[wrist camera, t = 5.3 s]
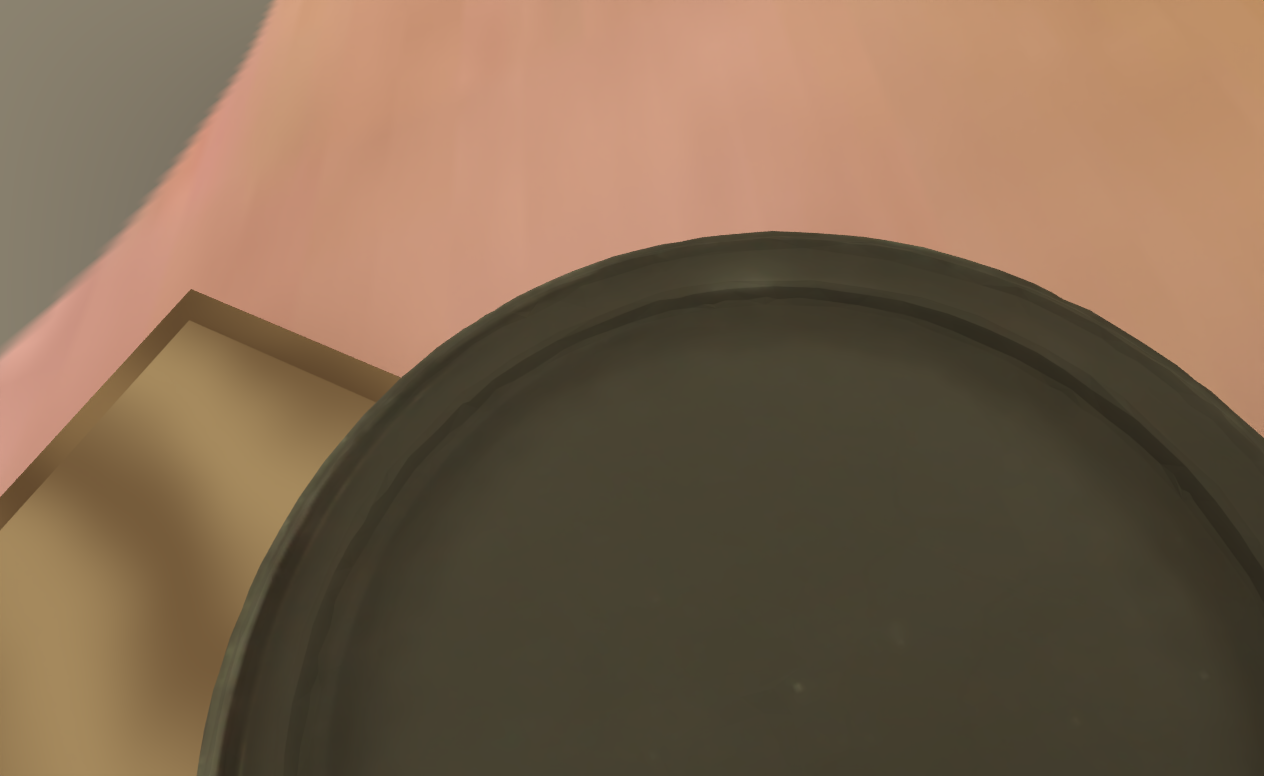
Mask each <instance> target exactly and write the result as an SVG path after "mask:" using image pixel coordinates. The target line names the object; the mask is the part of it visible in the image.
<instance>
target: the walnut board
mask: <svg viewBox="0 0 1264 776" xmlns="http://www.w3.org/2000/svg"><path fill="white" fill-rule="evenodd" d="M399 379H400V377H398V376H396V375H393V374H391V373H389V372H386V371H384V370H382V369H379V368H377V367H374V366H372V365H370V364H367V363H365V362H363V361H360V360H358V359H355V358H353V357H351V356H348V355H346V354H344V353H341V352H339V351H336V350H334V349H332V348H329V347H327V346H325V345H322V344H320V343H318V342H315V341H313V340H310V339H308V338H306V337H303V336H301V335H299V334H296V333H294V332H291V331H289V330H287V329H284V328H282V327H280V326H277V325H275V324H272V323H270V322H268V321H265V320H263V319H261V318H258V317H256V316H254V315H251V314H249V313H246V312H244V311H242V310H239V309H237V308H235V307H232V306H230V305H227V304H225V303H223V302H220V301H218V300H216V299H213V298H211V297H209V296H206V295H204V294H201V293H199V292H197V291H194V290H192V289H191V290H190V291H189V292H188V293H187V294H186V295H185V296H184V297H183V298H182V300H181V301H180V302H179V303H178V304H177V305H176V306H175V307H174V308H173V309H172V310H171V312H170V313H169V314H168V315H167V316H166V317H165V318H164V319H163V320H162V321H161V322H160V324H159V325H158V326H157V327H156V328H155V329H154V330H153V331H152V332H151V333H150V334H149V336H148V337H147V338H146V339H145V340H144V341H143V342H142V343H141V344H140V345H139V346H138V348H137V349H136V350H135V351H134V352H133V353H132V354H131V355H130V356H129V357H128V358H127V360H126V361H125V362H124V363H123V364H122V365H121V366H120V367H119V368H118V369H117V370H116V372H115V373H114V374H113V375H112V376H111V377H110V378H109V379H108V380H107V381H106V382H105V384H104V385H103V386H102V387H101V388H100V389H99V390H98V391H97V392H96V393H95V394H94V396H93V397H92V398H91V399H90V400H89V401H88V402H87V403H86V404H85V405H84V407H83V408H82V409H81V410H80V411H79V412H78V413H77V414H76V415H75V416H74V417H73V419H72V420H71V421H70V422H69V423H68V424H67V425H66V426H65V427H64V428H63V429H62V431H61V432H60V433H59V434H58V435H57V436H56V437H55V438H54V439H53V440H52V441H51V443H50V444H49V445H48V446H47V447H46V448H45V449H44V450H43V451H42V452H41V453H40V455H39V456H38V457H37V458H36V459H35V460H34V461H33V462H32V463H31V464H30V465H29V467H28V468H27V469H26V470H25V471H24V472H23V473H22V474H21V475H20V476H19V477H18V479H17V480H16V481H15V482H14V483H13V484H12V485H11V486H10V487H9V488H8V489H7V491H6V492H5V493H4V494H3V495H2V496H1V497H0V776H197V770H198V763H199V756H200V750H201V744H202V739H203V733H204V727H205V723H206V719H207V715H208V710H209V706H210V702H211V697H212V693H213V689H214V686H215V683H216V680H217V677H218V675H219V671H220V668H221V665H222V662H223V659H224V655H225V652H226V649H227V646H228V642H229V639H230V636H231V634H232V632H233V629H234V627H235V625H236V622H237V620H238V618H239V615H240V613H241V611H242V608H243V605H244V602H245V600H246V597H247V594H248V591H249V589H250V587H251V584H252V582H253V580H254V578H255V576H256V573H257V571H258V569H259V567H260V565H261V563H262V561H263V559H264V557H265V556H266V554H267V552H268V550H269V548H270V547H271V545H272V543H273V541H274V539H275V537H276V536H277V534H278V532H279V530H280V528H281V527H282V525H283V523H284V522H285V520H286V518H287V517H288V515H289V513H290V512H291V510H292V508H293V507H294V505H295V503H296V502H297V500H298V498H299V497H300V495H301V494H302V492H303V491H304V490H305V488H306V487H307V485H308V484H309V483H310V481H311V480H312V478H313V477H314V475H315V474H316V473H317V471H318V470H319V468H320V467H321V465H322V464H323V463H324V461H325V460H326V459H327V458H328V456H329V455H330V454H331V453H332V452H333V450H334V449H335V448H336V447H337V446H338V444H339V443H340V442H341V441H342V440H343V438H344V437H345V436H346V435H347V434H348V433H349V431H350V430H351V429H352V428H353V427H354V426H355V424H356V423H357V422H358V421H359V420H360V419H361V417H362V416H363V415H364V414H365V413H366V412H367V411H368V410H369V409H370V408H371V407H372V406H373V405H374V404H375V403H376V402H377V401H378V400H379V399H380V398H381V397H382V396H383V395H384V394H385V393H386V392H387V391H388V390H389V389H390V388H391V387H392V386H393V385H394V384H395V383H396V382H397V381H398V380H399Z"/></svg>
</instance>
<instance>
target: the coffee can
mask: <svg viewBox="0 0 1264 776" xmlns="http://www.w3.org/2000/svg"><path fill="white" fill-rule="evenodd" d="M197 776H1264V438H1263V437H1262V436H1261V435H1260V434H1258V433H1257V432H1256V431H1255V430H1254V429H1253V428H1252V427H1250V426H1249V425H1248V424H1247V423H1246V422H1245V421H1244V420H1242V419H1241V418H1240V417H1239V416H1238V415H1237V414H1236V413H1235V412H1233V411H1232V410H1231V409H1230V408H1229V407H1228V406H1227V405H1226V404H1225V403H1223V402H1222V401H1221V400H1220V399H1219V398H1218V397H1217V396H1216V395H1215V394H1213V393H1212V392H1211V391H1210V390H1208V389H1207V388H1206V387H1204V386H1203V385H1201V384H1200V383H1198V382H1197V381H1196V380H1194V379H1193V378H1192V377H1191V376H1189V375H1188V374H1187V373H1186V372H1184V371H1183V370H1182V369H1181V368H1180V367H1178V366H1177V365H1176V364H1174V363H1173V362H1171V361H1170V360H1168V359H1167V358H1165V357H1164V356H1162V355H1160V354H1159V353H1157V352H1156V351H1154V350H1153V349H1151V348H1150V347H1148V346H1147V345H1145V344H1144V343H1142V342H1141V341H1139V340H1137V339H1136V338H1134V337H1133V336H1131V335H1129V334H1128V333H1126V332H1124V331H1123V330H1121V329H1120V328H1118V327H1116V326H1115V325H1113V324H1111V323H1110V322H1108V321H1106V320H1105V319H1103V318H1102V317H1100V316H1098V315H1097V314H1095V313H1093V312H1092V311H1090V310H1088V309H1085V308H1083V307H1081V306H1078V305H1076V304H1073V303H1071V302H1068V301H1066V300H1063V299H1062V298H1060V297H1058V296H1057V295H1055V294H1053V293H1052V292H1050V291H1048V290H1046V289H1044V288H1042V287H1040V286H1038V285H1036V284H1034V283H1031V282H1029V281H1026V280H1024V279H1021V278H1018V277H1016V276H1013V275H1011V274H1008V273H1006V272H1003V271H1001V270H998V269H995V268H991V267H988V266H985V265H982V264H979V263H976V262H972V261H969V260H966V259H963V258H959V257H956V256H952V255H949V254H945V253H942V252H938V251H935V250H931V249H928V248H924V247H919V246H914V245H908V244H903V243H897V242H892V241H886V240H880V239H873V238H867V237H857V236H847V235H834V234H819V233H802V232H780V231H768V232H754V233H742V234H731V235H720V236H711V237H702V238H697V239H692V240H687V241H683V242H677V243H670V244H663V245H658V246H654V247H650V248H646V249H642V250H637V251H633V252H629V253H626V254H622V255H618V256H614V257H611V258H608V259H605V260H603V261H600V262H597V263H594V264H592V265H589V266H586V267H583V268H580V269H578V270H575V271H572V272H570V273H568V274H565V275H563V276H561V277H558V278H556V279H554V280H551V281H549V282H547V283H545V284H543V285H540V286H538V287H536V288H534V289H532V290H530V291H528V292H526V293H524V294H522V295H520V296H518V297H516V298H514V299H512V300H511V301H509V302H507V303H506V304H504V305H502V306H501V307H499V308H498V309H496V310H495V311H493V312H491V313H489V314H487V315H485V316H484V317H482V318H481V319H480V320H478V321H477V322H475V323H473V324H472V325H470V326H468V327H467V328H465V329H463V330H462V331H460V332H459V333H457V334H456V335H455V336H453V337H452V338H450V339H449V340H447V341H446V342H445V343H443V344H442V345H440V346H439V347H437V348H436V349H435V350H434V351H433V352H432V353H430V354H429V355H428V356H427V357H426V358H425V359H423V360H422V361H421V362H420V363H419V364H418V365H416V366H415V367H414V368H413V369H412V370H410V371H409V372H408V373H407V374H405V375H404V376H403V377H402V378H400V379H399V380H398V381H397V382H396V383H395V384H394V385H393V386H392V387H391V388H390V389H389V390H388V391H387V392H386V393H385V394H384V395H383V396H382V397H381V398H380V399H379V400H378V401H377V402H376V403H375V404H374V405H373V406H372V407H371V408H370V409H369V410H368V411H367V412H366V413H365V414H364V415H363V416H362V417H361V419H360V420H359V421H358V422H357V423H356V424H355V426H354V427H353V428H352V429H351V430H350V431H349V433H348V434H347V435H346V436H345V437H344V438H343V440H342V441H341V442H340V443H339V444H338V446H337V447H336V448H335V449H334V450H333V452H332V453H331V454H330V455H329V456H328V458H327V459H326V460H325V461H324V463H323V464H322V465H321V467H320V468H319V470H318V471H317V473H316V474H315V475H314V477H313V478H312V480H311V481H310V483H309V484H308V485H307V487H306V488H305V490H304V491H303V492H302V494H301V495H300V497H299V498H298V500H297V502H296V503H295V505H294V507H293V508H292V510H291V512H290V513H289V515H288V517H287V518H286V520H285V522H284V523H283V525H282V527H281V528H280V530H279V532H278V534H277V536H276V537H275V539H274V541H273V543H272V545H271V547H270V548H269V550H268V552H267V554H266V556H265V557H264V559H263V561H262V563H261V565H260V567H259V569H258V571H257V573H256V576H255V578H254V580H253V582H252V584H251V587H250V589H249V591H248V594H247V597H246V600H245V602H244V605H243V608H242V611H241V613H240V615H239V618H238V620H237V622H236V625H235V627H234V629H233V632H232V634H231V636H230V639H229V642H228V646H227V649H226V652H225V655H224V659H223V662H222V665H221V668H220V671H219V675H218V677H217V680H216V683H215V686H214V689H213V693H212V697H211V702H210V706H209V710H208V715H207V719H206V723H205V727H204V733H203V739H202V744H201V750H200V756H199V763H198V770H197Z"/></svg>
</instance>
